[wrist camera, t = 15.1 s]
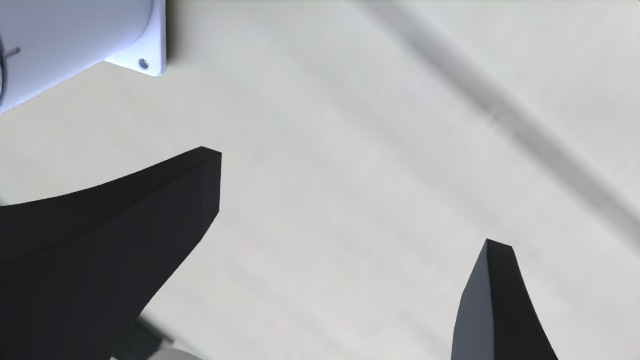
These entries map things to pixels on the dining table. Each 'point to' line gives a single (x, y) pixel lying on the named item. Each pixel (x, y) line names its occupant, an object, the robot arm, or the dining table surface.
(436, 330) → the dining table surface
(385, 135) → the dining table surface
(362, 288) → the dining table surface
